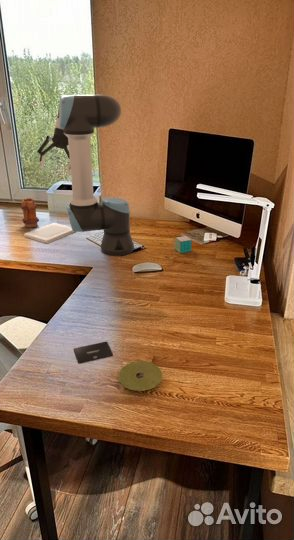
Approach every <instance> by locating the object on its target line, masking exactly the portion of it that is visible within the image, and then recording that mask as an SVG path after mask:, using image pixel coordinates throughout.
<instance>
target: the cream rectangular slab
mask: <svg viewBox="0 0 294 540" xmlns="http://www.w3.org/2000/svg"><path fill="white" fill-rule="evenodd" d="M73 233H75V232H74V231H73V230H72V228H71V226H70V225H69V226H68V225H65V224H60V223H57V222H53V223H50V224H47V225H43V226H41V227H39V228H36V229H33V230H30V231H28V232H26V233H24V234H23V235H24V238H28V239H31V240H34V241H38V242H41V243H43V244H49V243H52V242H55V241H57V240H60V239H62V238H64V237H67V236H69V235H71V234H73Z"/></svg>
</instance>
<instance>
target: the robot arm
mask: <svg viewBox="0 0 294 540" xmlns="http://www.w3.org/2000/svg"><path fill="white" fill-rule="evenodd" d="M121 115H122V106H121V104H120V102H119V101H118V100H117V99H116V98H114V97H112V96H109V95H105V94H61V95H60V99H59V105H58V110H57V117H56V121H55V128H54V132H53V136H51V135H46V137H45V140H44V142H43V143H42V144H41V145H40V147H39V148H38V149H37V151H36V152H37V153H38V154H39V155H40V156H39V162H40V166H39V167H40V170H43V169H44V167H45V160H46V154H47V153H48V152H50V151H51V150H52V149H53V148H56V149H61V150H64V151H65V154H66V156H67V157H68V160H69V162H68V166H67V169H66V175H65V176H70V178H71V189H72V191H71V192H72V197H71V198H70V199H69V204H68V205H66V212H67V216H68V221H69V223H70V225H69V226H70V227H71V228H72V230H73V231H74V233H79V232H81V233H84V232H92V231H103V236H102V240H101V243H100V252H101V253H102V254H104V255H107V256H112V257H120V256H121V257H122V256H127V255H129V254H131V253H133V252H134V251H133V249H134V250H135V243H134V242H133V238H132V235H131V225H130V224H131V223H130V221H131V220H130V218H131V216H130V213H131V210H130V204H129V202H128V201H127V200H126V199H123V198H119V197H114V196H111V197H104V198H102V200H101V202H98V199H97V198H96V196H94V183H93V182H94V179H93V164H92V163H93V162H92V161H93V160H92V144H91V143H92V142H91V137H92V136H93V135H94V134H95V128H96V129H97V128H98V129H99V128H107V127H109V126H112V125H113V124H115V123H116V122H117V121H118V120H119V119H120V118H121ZM51 141H52V143H51V144H50V145H48V144H49V142H51ZM46 146H47V147H46Z"/></svg>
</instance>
